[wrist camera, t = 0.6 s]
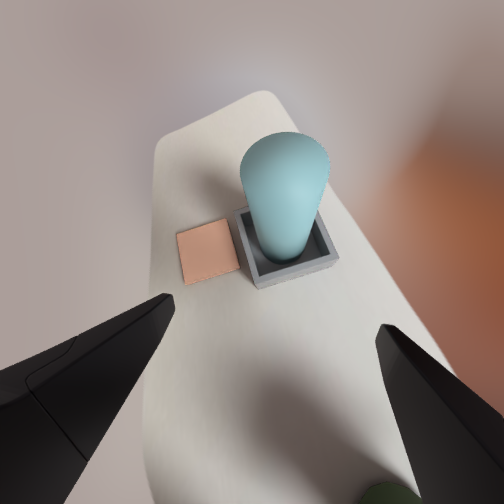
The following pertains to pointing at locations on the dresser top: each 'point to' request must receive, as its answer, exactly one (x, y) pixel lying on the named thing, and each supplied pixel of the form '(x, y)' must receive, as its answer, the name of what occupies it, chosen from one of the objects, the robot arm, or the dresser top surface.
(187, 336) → the dresser top surface
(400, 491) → the character mug
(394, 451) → the dresser top surface
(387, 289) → the dresser top surface
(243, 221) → the slate tray
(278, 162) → the teal post
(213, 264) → the terracotta coaster
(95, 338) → the robot arm
